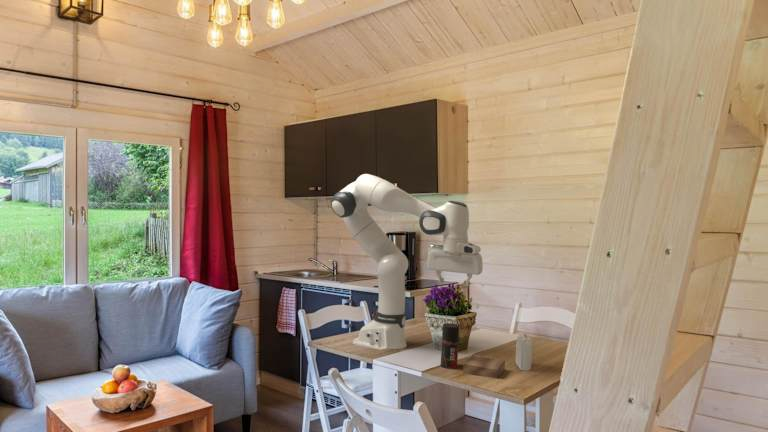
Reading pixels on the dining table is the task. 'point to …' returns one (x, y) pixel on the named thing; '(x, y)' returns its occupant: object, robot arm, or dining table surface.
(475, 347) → the dining table surface
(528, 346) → the photo printer
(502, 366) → the walnut block
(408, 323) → the dining table surface
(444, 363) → the deodorant
